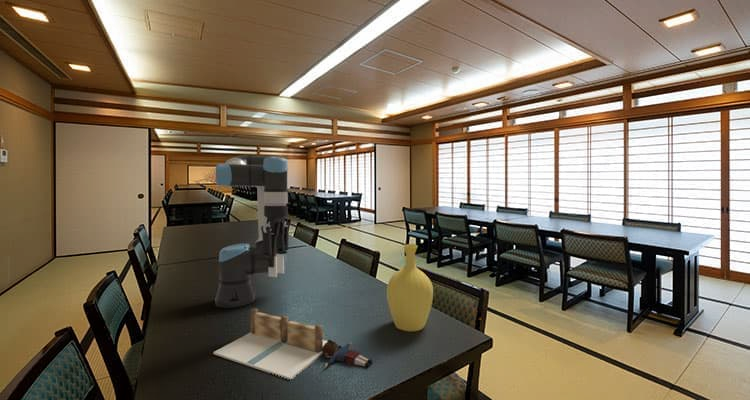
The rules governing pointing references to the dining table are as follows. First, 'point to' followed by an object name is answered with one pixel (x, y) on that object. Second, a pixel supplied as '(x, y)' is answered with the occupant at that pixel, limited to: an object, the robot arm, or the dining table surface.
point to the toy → (343, 354)
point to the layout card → (269, 354)
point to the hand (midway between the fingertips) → (276, 274)
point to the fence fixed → (306, 335)
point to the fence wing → (269, 325)
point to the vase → (410, 294)
